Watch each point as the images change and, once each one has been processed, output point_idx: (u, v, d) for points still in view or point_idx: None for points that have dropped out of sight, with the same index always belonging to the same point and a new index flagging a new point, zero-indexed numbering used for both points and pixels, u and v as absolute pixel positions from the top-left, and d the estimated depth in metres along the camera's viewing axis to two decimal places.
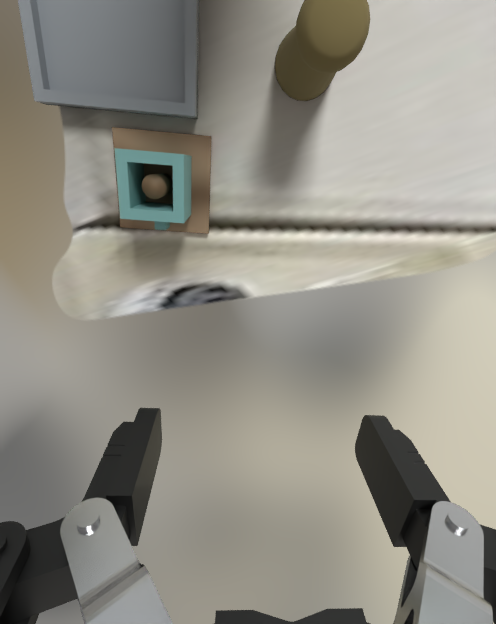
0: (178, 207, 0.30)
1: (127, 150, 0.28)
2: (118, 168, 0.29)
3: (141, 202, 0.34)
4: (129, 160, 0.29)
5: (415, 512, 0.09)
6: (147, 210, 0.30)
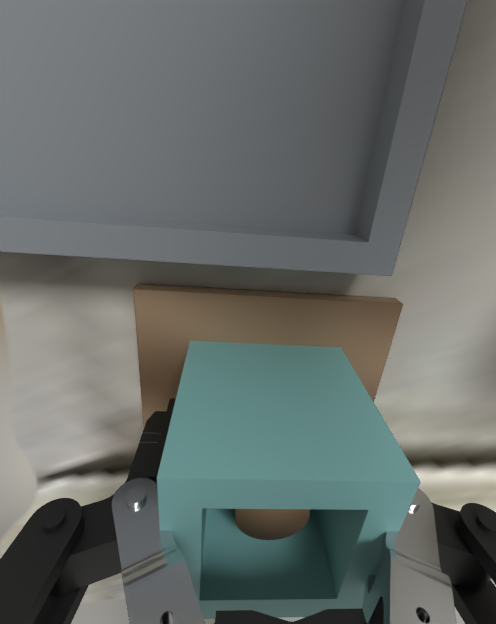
0: (356, 590, 0.09)
1: (207, 481, 0.07)
2: (168, 524, 0.08)
3: None
4: (211, 505, 0.07)
5: None
6: (254, 598, 0.09)
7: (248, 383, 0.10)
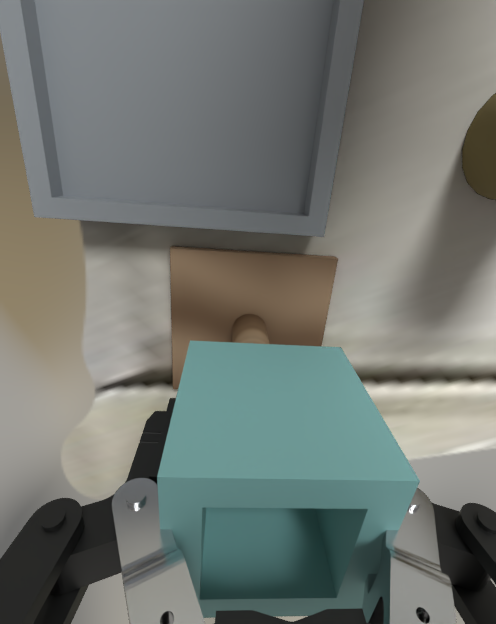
0: (355, 589, 0.09)
1: (207, 480, 0.07)
2: (168, 524, 0.08)
3: None
4: (212, 504, 0.07)
5: None
6: (254, 597, 0.09)
7: (248, 383, 0.10)
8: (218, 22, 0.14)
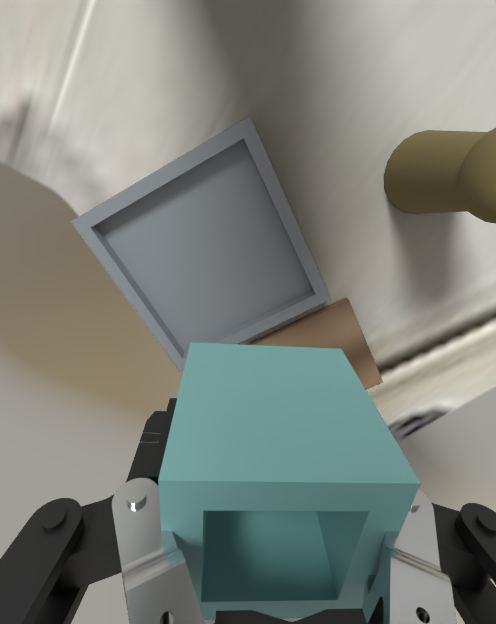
0: (357, 591, 0.09)
1: (208, 483, 0.07)
2: (169, 526, 0.08)
3: None
4: (213, 506, 0.07)
5: None
6: (255, 599, 0.09)
7: (249, 385, 0.10)
8: (216, 235, 0.26)
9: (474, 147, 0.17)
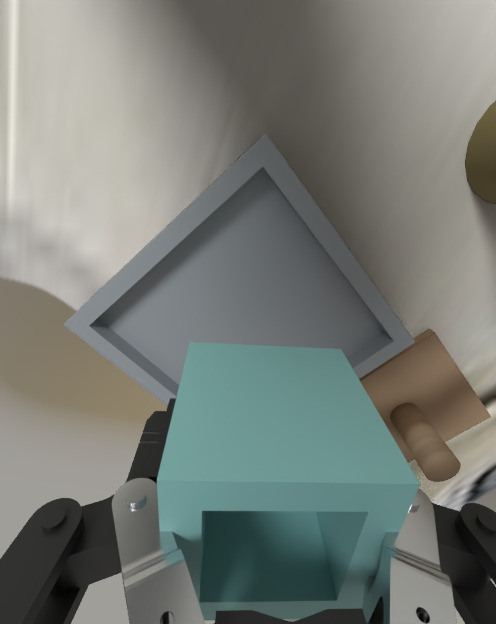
0: (356, 592, 0.09)
1: (207, 483, 0.07)
2: (168, 527, 0.08)
3: None
4: (211, 507, 0.07)
5: None
6: (254, 600, 0.09)
7: (248, 385, 0.10)
8: (248, 295, 0.20)
9: None
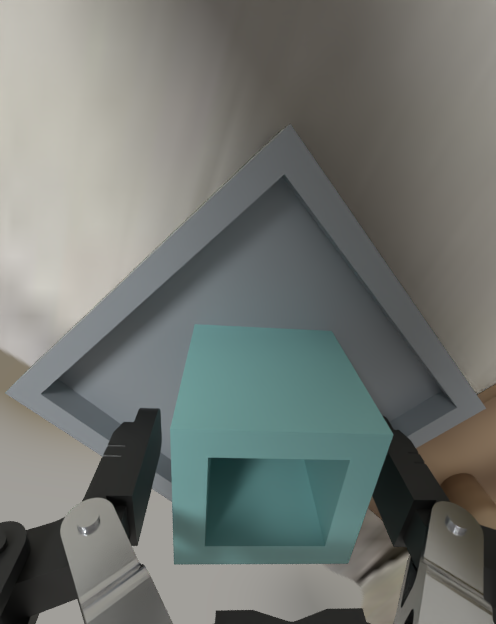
0: (341, 538, 0.11)
1: (213, 432, 0.08)
2: (178, 472, 0.09)
3: None
4: (216, 454, 0.09)
5: (415, 513, 0.09)
6: (252, 545, 0.11)
7: (247, 359, 0.12)
8: None
9: None
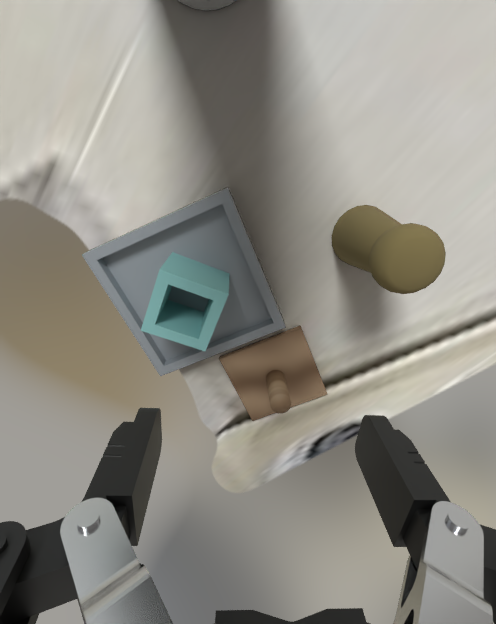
0: (205, 336, 0.29)
1: (172, 274, 0.26)
2: (156, 287, 0.27)
3: (164, 305, 0.32)
4: (171, 283, 0.27)
5: (415, 512, 0.09)
6: (172, 330, 0.29)
7: (190, 266, 0.30)
8: None
9: (378, 239, 0.24)
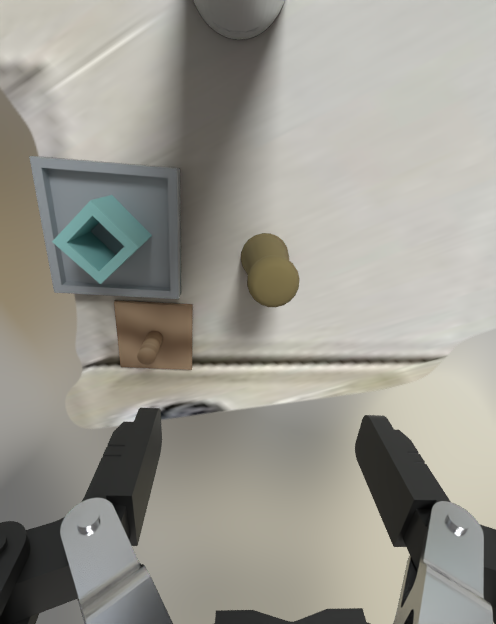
0: (105, 272, 0.34)
1: (99, 210, 0.31)
2: (81, 213, 0.31)
3: (84, 233, 0.36)
4: (95, 216, 0.31)
5: (415, 512, 0.09)
6: (79, 254, 0.33)
7: (119, 213, 0.34)
8: None
9: (260, 258, 0.32)
